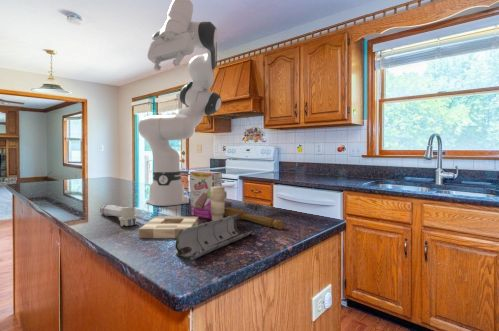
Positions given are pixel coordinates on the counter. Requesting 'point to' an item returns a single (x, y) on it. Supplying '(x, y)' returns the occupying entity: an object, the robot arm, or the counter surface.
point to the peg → (217, 202)
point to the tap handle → (254, 218)
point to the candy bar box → (203, 192)
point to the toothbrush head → (120, 213)
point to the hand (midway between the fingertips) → (166, 67)
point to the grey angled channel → (207, 237)
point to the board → (166, 226)
